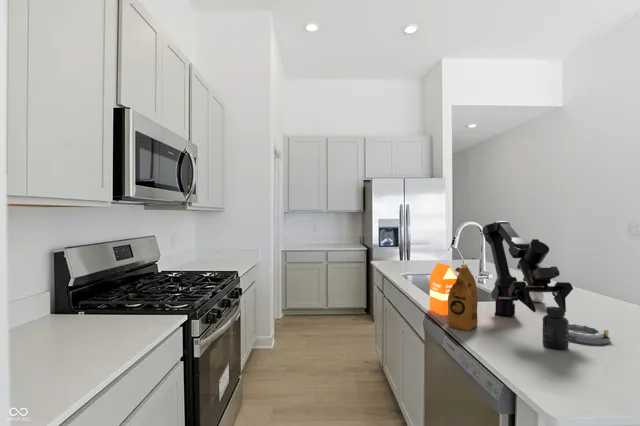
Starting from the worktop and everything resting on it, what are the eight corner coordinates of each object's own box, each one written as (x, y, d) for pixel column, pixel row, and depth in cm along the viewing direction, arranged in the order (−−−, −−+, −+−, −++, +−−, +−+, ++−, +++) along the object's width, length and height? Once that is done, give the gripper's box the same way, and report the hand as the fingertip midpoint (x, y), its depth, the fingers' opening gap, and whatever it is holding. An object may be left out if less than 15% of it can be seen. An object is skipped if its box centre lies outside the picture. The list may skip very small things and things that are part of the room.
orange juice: (444, 308, 156) (444, 262, 156) (458, 313, 148) (458, 265, 148) (429, 309, 154) (429, 263, 153) (442, 315, 145) (442, 266, 145)
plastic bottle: (541, 300, 170) (542, 258, 170) (545, 304, 163) (546, 260, 163) (526, 299, 172) (526, 258, 172) (529, 303, 165) (529, 259, 165)
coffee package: (442, 326, 131) (443, 266, 131) (454, 319, 140) (454, 262, 140) (471, 332, 124) (471, 269, 124) (481, 324, 134) (481, 265, 134)
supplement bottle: (572, 351, 108) (573, 311, 108) (547, 349, 109) (548, 310, 109) (562, 343, 115) (562, 306, 115) (538, 341, 116) (539, 304, 116)
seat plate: (549, 337, 120) (549, 327, 120) (553, 325, 132) (553, 316, 132) (611, 349, 110) (611, 337, 110) (608, 334, 123) (608, 324, 123)
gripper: (512, 257, 121) (529, 297, 110) (569, 258, 120) (592, 298, 109) (501, 276, 129) (516, 316, 118) (555, 277, 128) (575, 317, 117)
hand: (549, 311), depth 115 cm, fingers open, 9 cm apart
